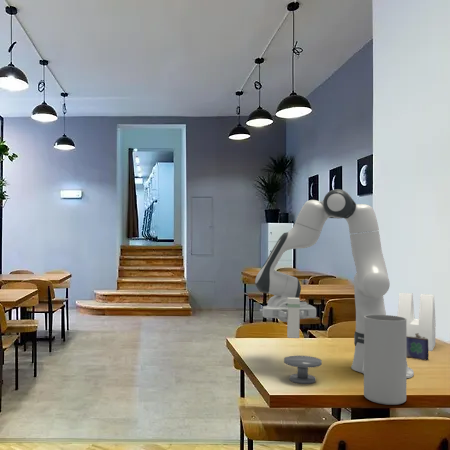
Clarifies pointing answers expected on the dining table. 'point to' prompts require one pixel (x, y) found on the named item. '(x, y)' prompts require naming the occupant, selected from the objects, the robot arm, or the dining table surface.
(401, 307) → the white u-shaped block
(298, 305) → the column
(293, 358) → the pedestal
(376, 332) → the cylinder vase
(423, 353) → the flask
